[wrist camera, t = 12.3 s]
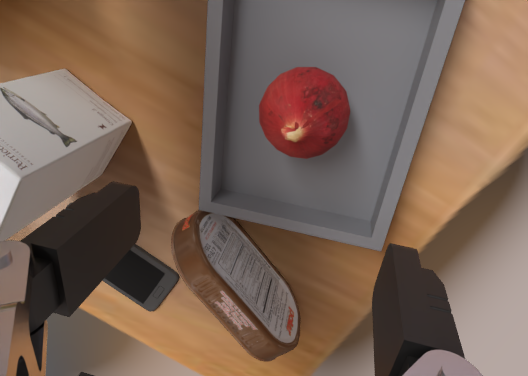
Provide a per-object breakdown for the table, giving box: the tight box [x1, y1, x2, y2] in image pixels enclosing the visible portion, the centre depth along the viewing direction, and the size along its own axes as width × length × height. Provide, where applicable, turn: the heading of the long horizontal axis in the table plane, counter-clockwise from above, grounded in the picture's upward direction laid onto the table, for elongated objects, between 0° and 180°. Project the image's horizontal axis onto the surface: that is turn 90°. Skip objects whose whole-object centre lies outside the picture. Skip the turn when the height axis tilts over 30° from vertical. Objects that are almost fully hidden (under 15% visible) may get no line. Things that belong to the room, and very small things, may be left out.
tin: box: [171, 210, 300, 361], centre depth 33 cm, size 15×3×8 cm, turn 39°
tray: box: [199, 0, 465, 251], centre depth 27 cm, size 20×15×4 cm
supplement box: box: [0, 69, 132, 241], centre depth 29 cm, size 7×7×13 cm
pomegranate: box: [259, 67, 350, 159], centre depth 24 cm, size 6×6×8 cm
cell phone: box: [65, 203, 179, 311], centre depth 41 cm, size 7×14×1 cm, turn 57°
